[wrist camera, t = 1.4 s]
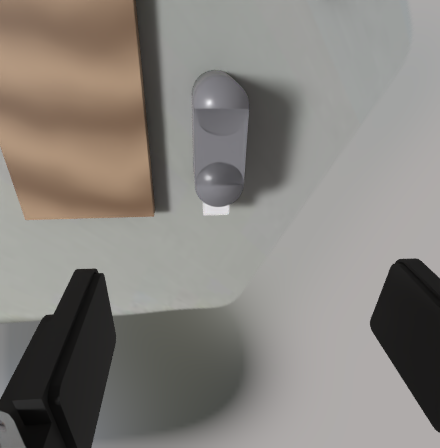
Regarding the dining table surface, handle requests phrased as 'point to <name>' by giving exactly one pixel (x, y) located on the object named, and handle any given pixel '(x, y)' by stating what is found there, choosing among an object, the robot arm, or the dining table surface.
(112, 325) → the robot arm
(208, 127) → the block
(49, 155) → the walnut board
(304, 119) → the dining table surface
